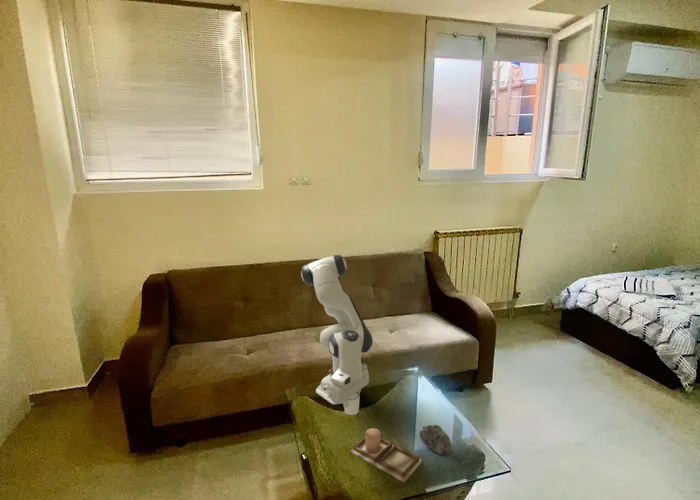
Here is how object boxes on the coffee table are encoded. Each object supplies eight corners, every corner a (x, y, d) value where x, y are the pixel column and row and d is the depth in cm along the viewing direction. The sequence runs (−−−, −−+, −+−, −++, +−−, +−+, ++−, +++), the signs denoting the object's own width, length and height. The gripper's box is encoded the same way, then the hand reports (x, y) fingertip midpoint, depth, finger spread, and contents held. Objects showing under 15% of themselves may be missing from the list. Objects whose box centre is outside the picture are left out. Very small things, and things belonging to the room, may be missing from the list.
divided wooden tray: (350, 452, 158) (350, 447, 158) (369, 435, 168) (369, 430, 168) (404, 482, 143) (404, 476, 142) (421, 462, 153) (421, 456, 152)
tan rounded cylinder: (362, 449, 159) (362, 433, 157) (371, 441, 163) (371, 426, 162) (374, 455, 155) (374, 440, 154) (383, 447, 160) (383, 432, 158)
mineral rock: (418, 436, 168) (418, 415, 166) (442, 433, 169) (443, 413, 167) (427, 457, 155) (428, 435, 153) (453, 455, 157) (454, 432, 154)
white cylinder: (358, 416, 155) (358, 400, 154) (341, 415, 156) (341, 399, 155) (361, 406, 162) (360, 391, 160) (344, 405, 163) (344, 390, 162)
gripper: (360, 359, 165) (360, 389, 168) (327, 379, 150) (328, 411, 153) (372, 363, 162) (372, 394, 164) (340, 384, 146) (340, 418, 149)
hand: (351, 402), depth 158 cm, fingers closed on white cylinder, 5 cm apart
